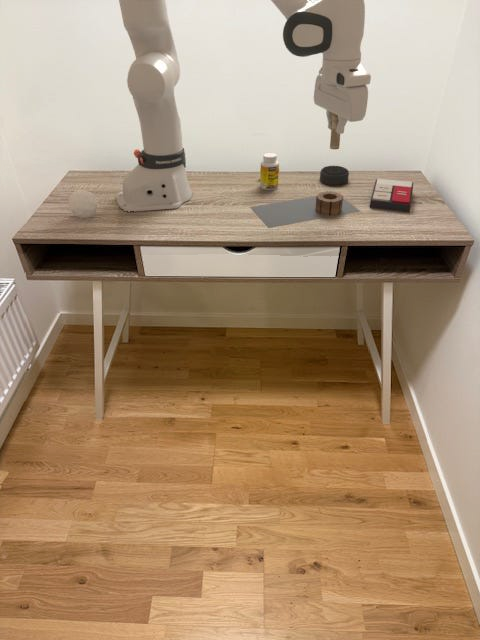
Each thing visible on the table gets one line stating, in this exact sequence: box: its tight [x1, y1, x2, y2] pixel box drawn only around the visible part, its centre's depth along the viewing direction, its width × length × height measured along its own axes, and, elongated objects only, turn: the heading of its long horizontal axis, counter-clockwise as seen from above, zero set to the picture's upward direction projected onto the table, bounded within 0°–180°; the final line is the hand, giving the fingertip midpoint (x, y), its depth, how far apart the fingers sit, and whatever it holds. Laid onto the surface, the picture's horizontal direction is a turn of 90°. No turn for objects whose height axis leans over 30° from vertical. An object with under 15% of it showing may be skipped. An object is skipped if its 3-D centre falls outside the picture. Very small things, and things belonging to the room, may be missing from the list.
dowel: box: [329, 113, 341, 150], centre depth 123 cm, size 2×2×10 cm
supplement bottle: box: [259, 152, 280, 191], centre depth 148 cm, size 6×6×10 cm
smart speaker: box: [319, 165, 350, 187], centre depth 153 cm, size 9×9×4 cm
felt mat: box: [249, 195, 361, 228], centre depth 138 cm, size 28×14×1 cm, turn 110°
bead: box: [315, 191, 344, 217], centre depth 135 cm, size 7×7×4 cm
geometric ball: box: [68, 189, 99, 220], centre depth 134 cm, size 8×8×8 cm
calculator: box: [369, 178, 414, 213], centre depth 141 cm, size 11×4×15 cm
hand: (335, 131), depth 123 cm, fingers closed on dowel, 2 cm apart
